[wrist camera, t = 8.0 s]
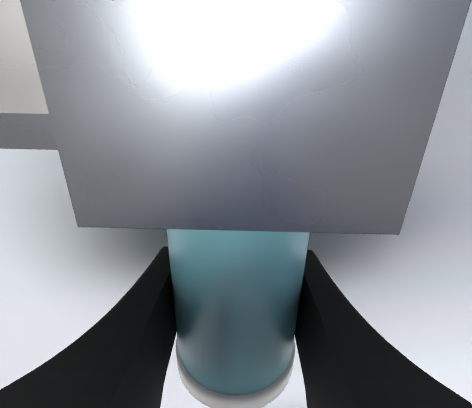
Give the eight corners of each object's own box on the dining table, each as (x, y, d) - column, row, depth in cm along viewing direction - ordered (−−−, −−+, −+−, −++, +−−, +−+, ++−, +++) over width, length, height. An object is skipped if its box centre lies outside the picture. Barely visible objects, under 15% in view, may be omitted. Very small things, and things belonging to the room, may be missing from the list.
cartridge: (155, -75, 9) (92, -109, 5) (335, -72, 9) (400, -105, 5) (185, 309, 15) (168, 411, 12) (286, 312, 15) (299, 414, 12)
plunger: (99, -44, 9) (24, -54, 6) (117, 73, 11) (63, 114, 8) (-13, -46, 9) (-147, -57, 6) (20, 71, 11) (-74, 111, 8)
